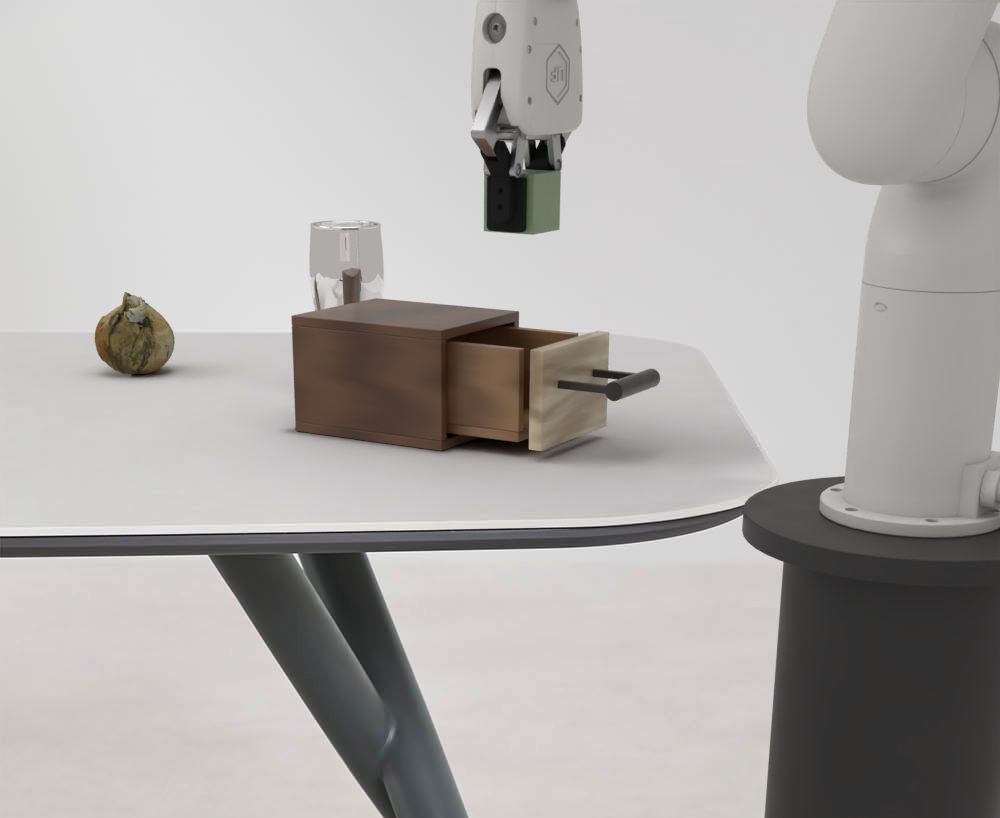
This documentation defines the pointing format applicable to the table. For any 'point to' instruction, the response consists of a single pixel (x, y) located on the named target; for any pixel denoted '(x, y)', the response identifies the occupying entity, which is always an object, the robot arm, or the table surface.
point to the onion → (134, 337)
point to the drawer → (533, 384)
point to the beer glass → (345, 262)
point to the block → (537, 201)
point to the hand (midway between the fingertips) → (522, 225)
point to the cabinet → (381, 369)
